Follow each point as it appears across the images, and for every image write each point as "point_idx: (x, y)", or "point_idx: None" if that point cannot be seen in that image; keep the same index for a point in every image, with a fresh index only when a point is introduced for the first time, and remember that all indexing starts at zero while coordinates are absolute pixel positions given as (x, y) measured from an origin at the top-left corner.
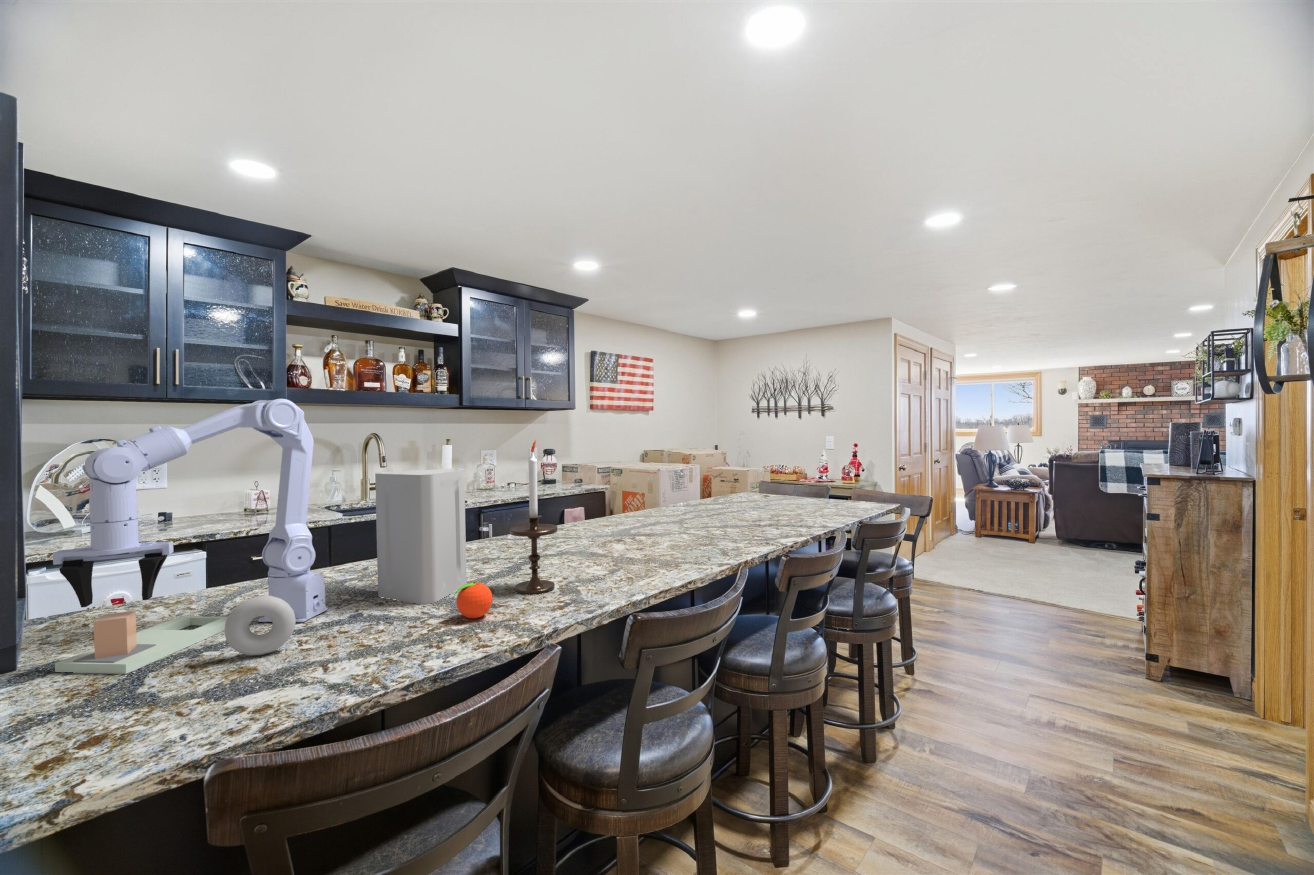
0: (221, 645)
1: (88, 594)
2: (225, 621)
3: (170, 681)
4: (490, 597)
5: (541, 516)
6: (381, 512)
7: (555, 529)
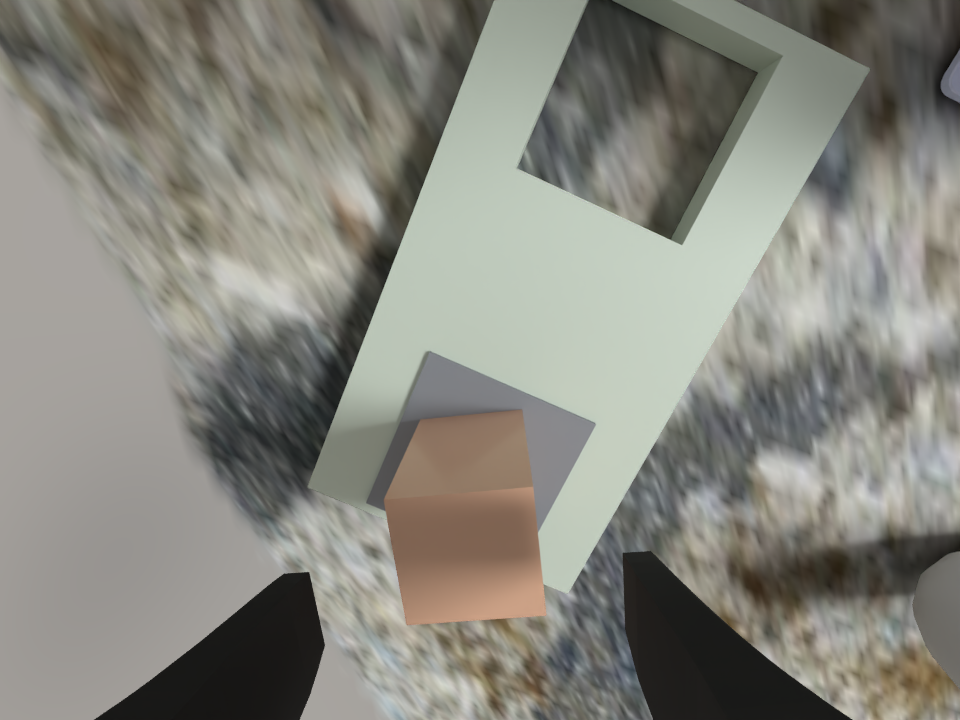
0: (809, 398)
1: (279, 675)
2: (816, 146)
3: None
4: None
5: None
6: None
7: None
